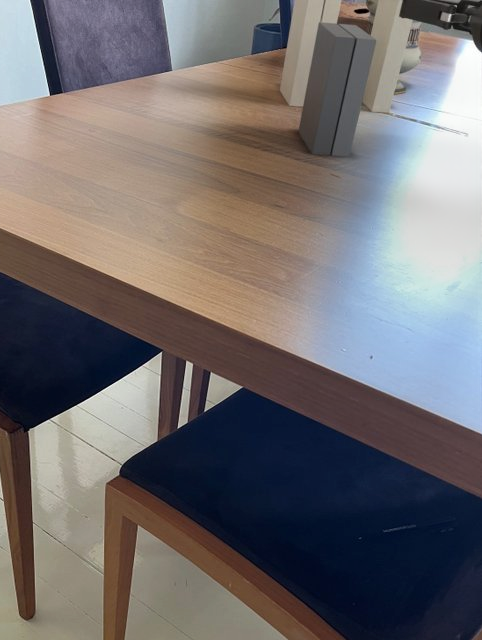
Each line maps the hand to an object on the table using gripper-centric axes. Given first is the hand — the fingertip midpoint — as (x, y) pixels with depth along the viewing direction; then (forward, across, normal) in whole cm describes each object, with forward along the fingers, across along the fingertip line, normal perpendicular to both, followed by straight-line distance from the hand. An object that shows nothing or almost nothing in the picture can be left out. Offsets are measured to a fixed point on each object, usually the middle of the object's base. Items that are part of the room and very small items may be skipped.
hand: (455, 3), depth 106 cm
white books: (+16, -17, -17) cm, 29 cm away
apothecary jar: (+30, +1, -18) cm, 35 cm away
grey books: (-14, -19, -18) cm, 29 cm away
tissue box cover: (+50, 0, -18) cm, 53 cm away
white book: (+16, -4, -18) cm, 24 cm away
